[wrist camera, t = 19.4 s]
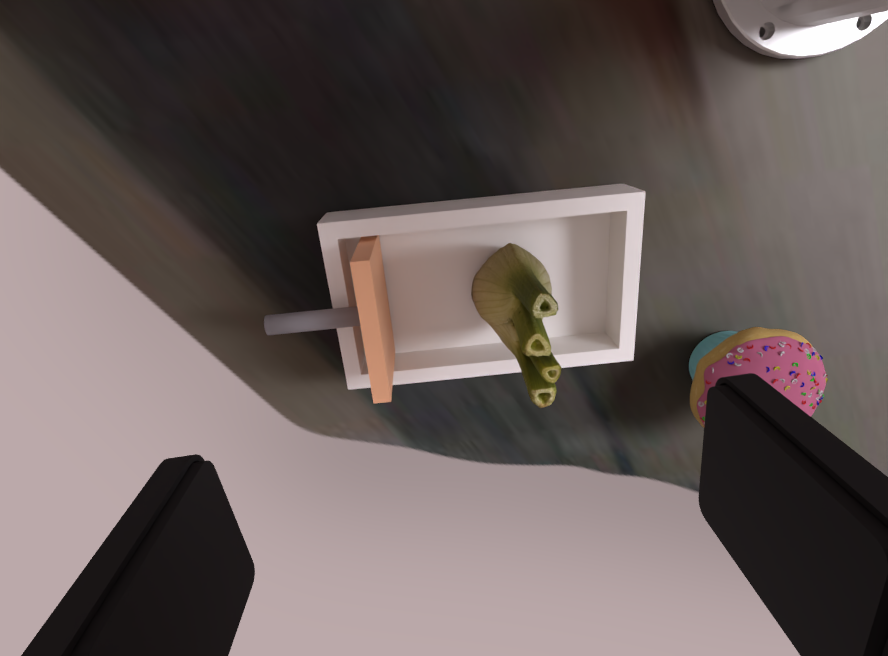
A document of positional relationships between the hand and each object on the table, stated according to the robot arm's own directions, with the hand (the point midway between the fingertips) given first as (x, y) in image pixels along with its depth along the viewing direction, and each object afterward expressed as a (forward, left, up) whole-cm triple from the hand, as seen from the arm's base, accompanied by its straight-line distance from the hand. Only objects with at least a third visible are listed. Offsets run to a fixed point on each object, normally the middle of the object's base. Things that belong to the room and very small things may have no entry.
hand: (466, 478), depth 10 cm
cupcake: (-20, +13, -25) cm, 35 cm away
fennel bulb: (-5, +4, -24) cm, 25 cm away
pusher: (+7, +5, -24) cm, 25 cm away
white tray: (-3, +5, -25) cm, 26 cm away
